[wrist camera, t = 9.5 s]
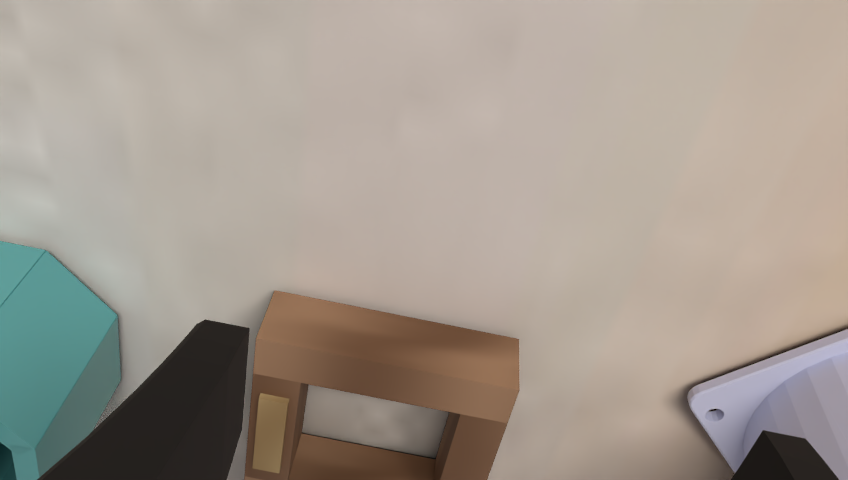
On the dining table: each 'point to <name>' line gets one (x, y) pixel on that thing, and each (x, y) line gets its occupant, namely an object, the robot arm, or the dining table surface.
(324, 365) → the block
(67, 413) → the cup
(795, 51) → the dining table surface
